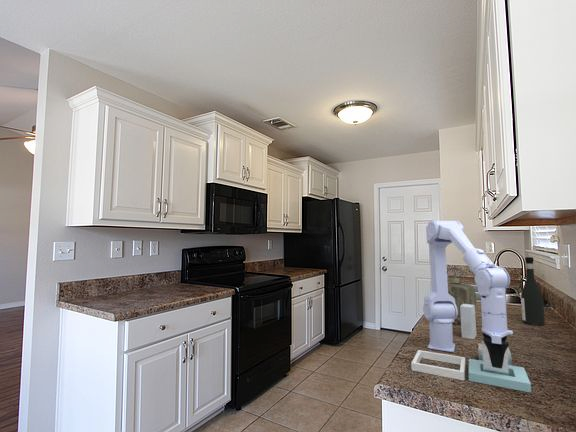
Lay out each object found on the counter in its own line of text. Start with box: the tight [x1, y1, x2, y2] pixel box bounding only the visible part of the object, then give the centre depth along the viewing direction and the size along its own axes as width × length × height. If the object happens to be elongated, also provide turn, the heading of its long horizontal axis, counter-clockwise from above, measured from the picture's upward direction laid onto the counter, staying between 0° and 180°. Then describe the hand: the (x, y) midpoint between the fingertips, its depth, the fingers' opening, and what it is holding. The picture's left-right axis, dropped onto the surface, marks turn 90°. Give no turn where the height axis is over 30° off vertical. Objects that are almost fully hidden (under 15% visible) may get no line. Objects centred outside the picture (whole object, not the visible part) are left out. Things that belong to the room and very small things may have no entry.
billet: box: [481, 339, 509, 376], centre depth 84 cm, size 4×6×8 cm
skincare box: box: [460, 304, 477, 340], centre depth 122 cm, size 6×4×12 cm
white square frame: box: [410, 349, 466, 381], centre depth 91 cm, size 13×13×2 cm
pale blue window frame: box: [468, 358, 532, 393], centre depth 84 cm, size 12×13×2 cm
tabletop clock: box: [436, 267, 477, 325], centre depth 143 cm, size 14×9×25 cm, turn 46°
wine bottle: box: [520, 256, 546, 326], centre depth 144 cm, size 8×8×30 cm
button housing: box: [477, 342, 513, 366], centre depth 95 cm, size 8×8×4 cm
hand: (496, 364), depth 84 cm, fingers closed on billet, 4 cm apart
